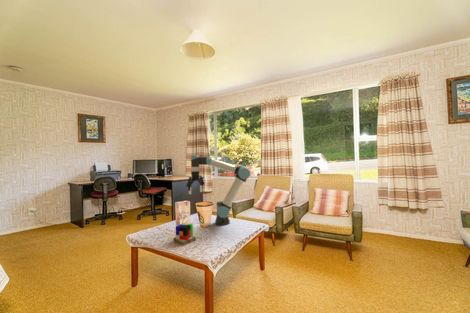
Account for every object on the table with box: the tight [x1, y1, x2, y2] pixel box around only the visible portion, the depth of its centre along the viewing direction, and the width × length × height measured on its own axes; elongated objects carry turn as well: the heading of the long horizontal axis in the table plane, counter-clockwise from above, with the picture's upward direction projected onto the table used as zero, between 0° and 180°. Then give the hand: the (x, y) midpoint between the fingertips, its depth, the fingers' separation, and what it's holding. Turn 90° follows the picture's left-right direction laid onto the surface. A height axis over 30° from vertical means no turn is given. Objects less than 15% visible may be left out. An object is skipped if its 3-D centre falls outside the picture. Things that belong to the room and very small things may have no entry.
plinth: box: [172, 235, 196, 246], centre depth 180 cm, size 13×13×3 cm
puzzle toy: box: [175, 222, 194, 240], centre depth 180 cm, size 10×10×10 cm
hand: (195, 193), depth 208 cm, fingers open, 13 cm apart
